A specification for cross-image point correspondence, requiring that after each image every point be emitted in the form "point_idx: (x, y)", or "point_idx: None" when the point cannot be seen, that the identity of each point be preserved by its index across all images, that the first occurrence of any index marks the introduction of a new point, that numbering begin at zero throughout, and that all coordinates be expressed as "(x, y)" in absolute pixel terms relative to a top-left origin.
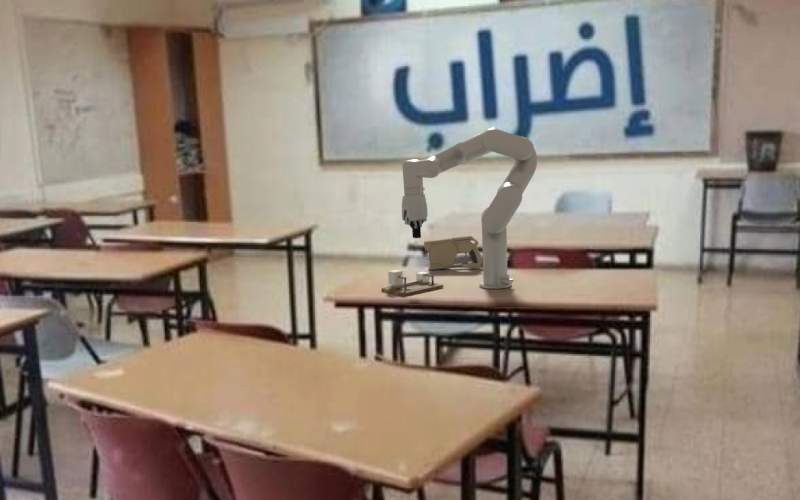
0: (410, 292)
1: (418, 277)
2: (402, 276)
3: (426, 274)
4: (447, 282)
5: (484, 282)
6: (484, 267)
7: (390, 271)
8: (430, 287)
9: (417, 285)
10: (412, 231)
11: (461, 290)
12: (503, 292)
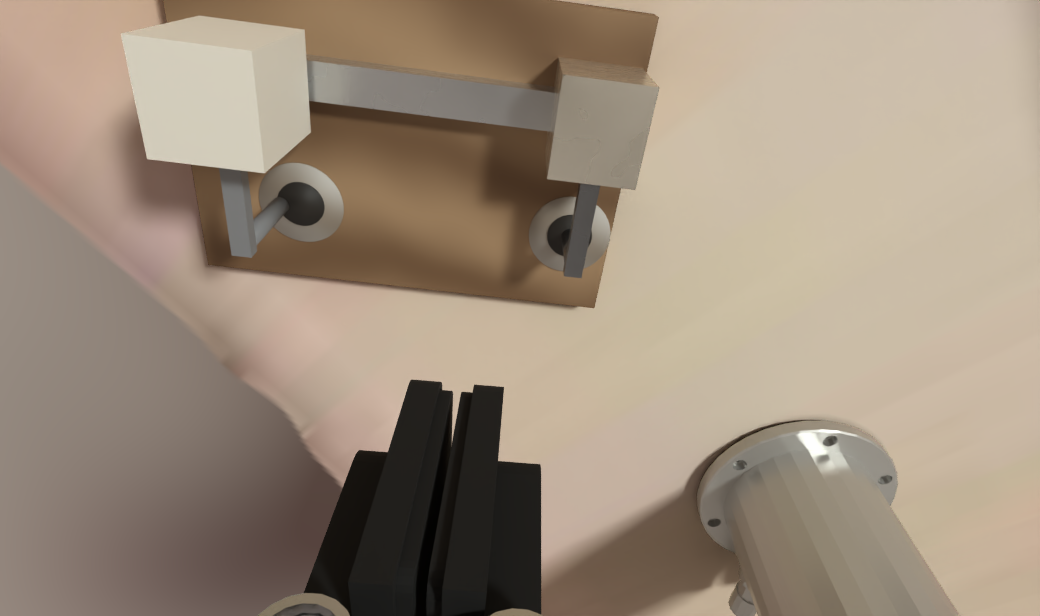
0: (277, 270)
1: (556, 102)
2: (242, 203)
3: (579, 198)
4: (772, 203)
5: (742, 487)
6: (771, 578)
7: (135, 78)
8: (474, 290)
9: (465, 161)
10: (328, 534)
11: (593, 418)
12: (663, 573)
